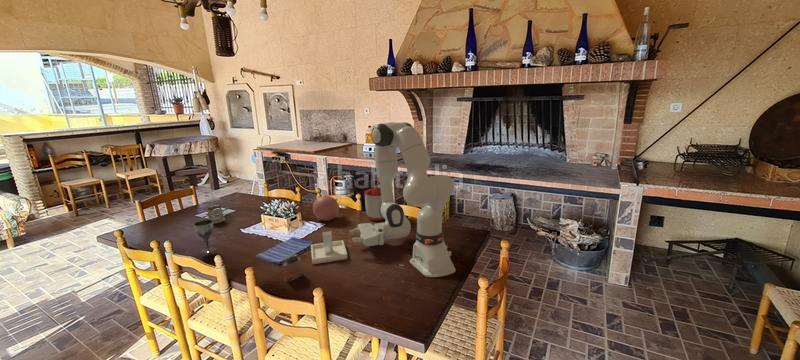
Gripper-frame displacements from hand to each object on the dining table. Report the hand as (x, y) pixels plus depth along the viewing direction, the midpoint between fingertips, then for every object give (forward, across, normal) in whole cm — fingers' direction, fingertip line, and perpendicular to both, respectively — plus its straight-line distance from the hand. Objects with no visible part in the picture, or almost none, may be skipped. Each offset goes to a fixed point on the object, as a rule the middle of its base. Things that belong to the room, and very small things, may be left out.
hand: (351, 235), depth 163 cm
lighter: (+27, +17, +8) cm, 33 cm away
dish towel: (+31, -10, +8) cm, 34 cm away
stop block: (+11, 0, +7) cm, 13 cm away
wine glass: (+69, -24, +8) cm, 74 cm away
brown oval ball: (+7, -48, +8) cm, 49 cm away
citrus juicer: (-23, -39, +8) cm, 46 cm away
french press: (+74, -69, +8) cm, 102 cm away
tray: (+11, 0, +8) cm, 14 cm away
